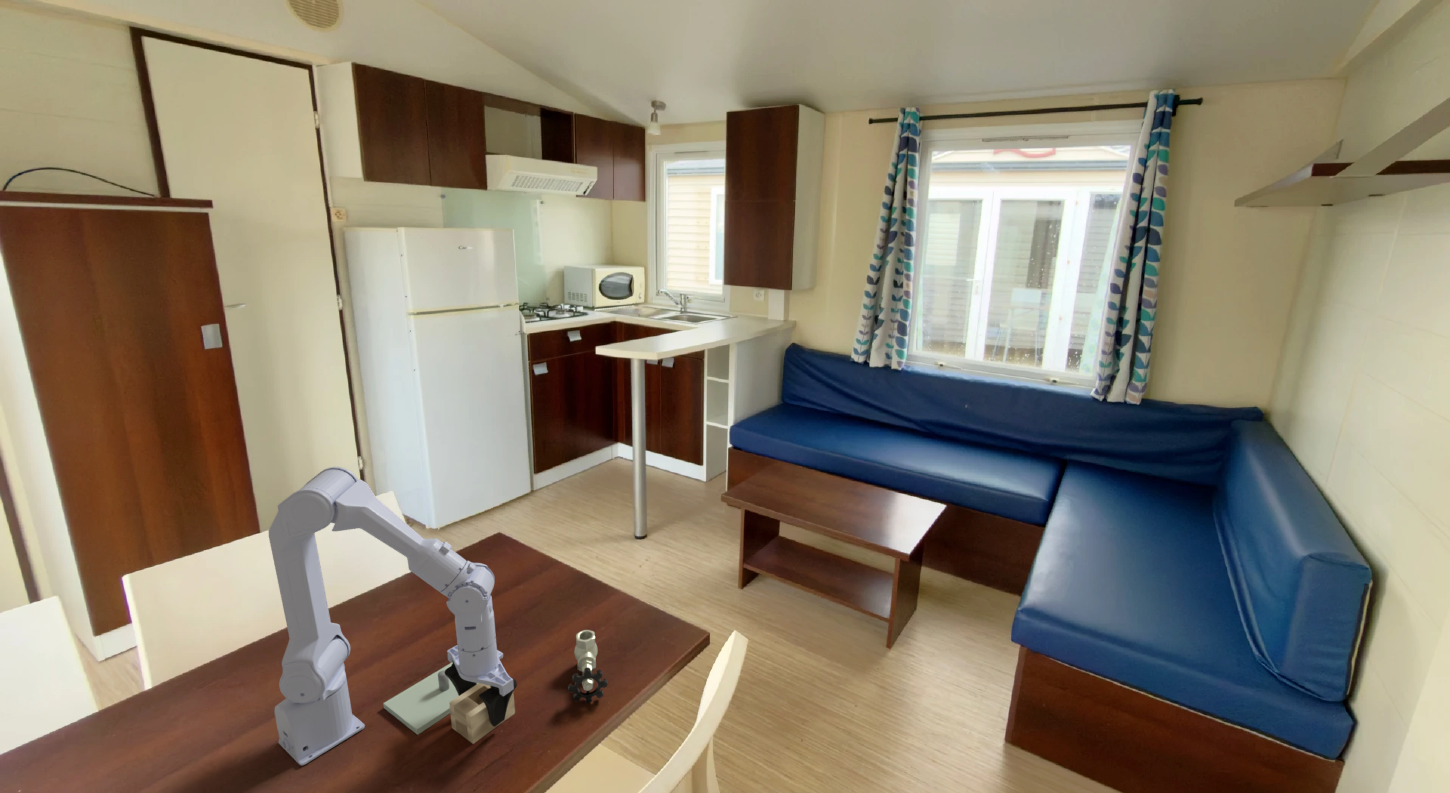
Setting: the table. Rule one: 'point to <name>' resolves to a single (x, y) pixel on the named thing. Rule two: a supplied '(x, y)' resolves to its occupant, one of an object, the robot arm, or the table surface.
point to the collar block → (474, 713)
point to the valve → (586, 668)
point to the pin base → (424, 701)
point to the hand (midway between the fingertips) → (483, 712)
